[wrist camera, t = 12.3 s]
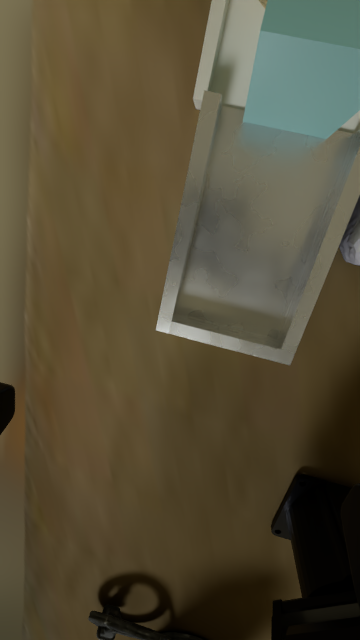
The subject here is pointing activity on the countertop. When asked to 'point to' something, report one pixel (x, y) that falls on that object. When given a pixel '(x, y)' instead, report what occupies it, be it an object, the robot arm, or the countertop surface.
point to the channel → (256, 232)
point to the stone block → (352, 238)
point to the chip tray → (235, 55)
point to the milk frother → (128, 627)
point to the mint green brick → (306, 67)
